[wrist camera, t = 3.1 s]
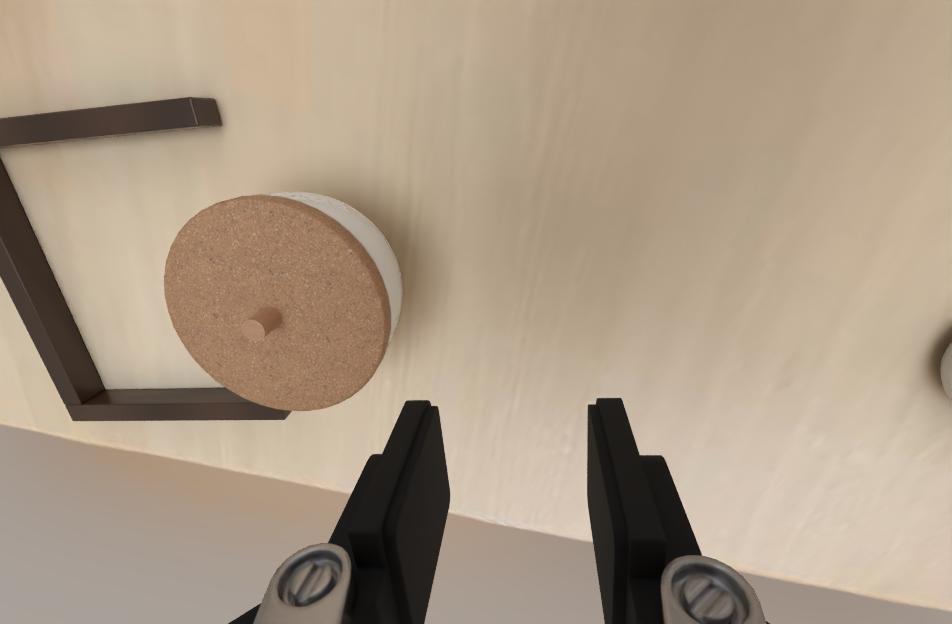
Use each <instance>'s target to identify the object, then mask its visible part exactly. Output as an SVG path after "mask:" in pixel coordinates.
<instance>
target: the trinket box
mask: <svg viewBox="0 0 952 624" xmlns="http://www.w3.org/2000/svg"><path fill="white" fill-rule="evenodd" d="M164 288H165V299H166V303H167V307H168V312H169V315H170V317H171V320H172V323H173V326H174V328H175V330H176V332H177V334H178V336H179V338H180V339H181V341H182V343H183V344H184V346H185V347H186V349H187V350H188V352H189V353H190V355H191V356H192V357H193V358H194V360H195V361H196V362H197V363H198V364H199V365H200V366H201V367H202V368H203V369H204V370H205V371H206V372H207V373H208V374H209V375H210V376H211V377H212V378H213V379H215V380H216V381H217V382H218V383H220V384H221V385H223V386H224V387H226V388H227V389H229V390H230V391H232V392H234V393H236V394H237V395H239V396H241V397H243V398H245V399H247V400H250V401H252V402H255V403H257V404H260V405H263V406H267V407H271V408H274V409H281V410H289V411H310V410H316V409H323V408H326V407H329V406H333V405H336V404H338V403H340V402H342V401H344V400H346V399H348V398H350V397H351V396H353V395H354V394H355V393H357V392H358V391H359V390H360V389H362V388H363V387H364V385H365V384H366V383H367V382H368V381H369V380H370V379H371V378H372V376H373V374H374V373H375V371H376V369H377V368H378V366H379V364H380V363H381V361H382V359H383V357H384V354H385V352H386V349H387V347H388V345H389V343H390V341H391V339H392V337H393V334H394V332H395V329H396V326H397V323H398V320H399V317H400V311H401V306H402V279H401V273H400V269H399V266H398V262H397V259H396V257H395V255H394V253H393V251H392V249H391V247H390V245H389V243H388V241H387V240H386V238H385V237H384V236H383V234H382V233H381V232H380V230H379V229H378V228H377V227H376V226H375V225H374V224H373V223H372V222H371V221H370V220H369V219H368V218H366V217H365V216H364V215H363V214H362V213H360V212H359V211H357V210H356V209H354V208H352V207H351V206H349V205H348V204H346V203H343V202H341V201H339V200H336V199H334V198H331V197H327V196H324V195H320V194H315V193H309V192H298V191H284V192H271V193H265V194H260V195H253V196H242V197H238V198H234V199H230V200H226V201H222V202H219V203H216V204H214V205H212V206H210V207H208V208H206V209H204V210H202V211H201V212H199V213H198V214H197V215H195V216H194V217H193V218H191V219H190V220H189V221H188V222H187V223H186V224H185V226H184V227H183V228H182V229H181V230H180V231H179V233H178V235H177V236H176V238H175V240H174V242H173V244H172V245H171V248H170V251H169V254H168V258H167V261H166V267H165V276H164Z"/></svg>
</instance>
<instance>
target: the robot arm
mask: <svg viewBox="0 0 952 624" xmlns="http://www.w3.org/2000/svg"><path fill="white" fill-rule="evenodd" d="M587 497H588V509H589V516H590V523H591V530H592V537H593V544H594V551H595V557H596V564H597V571H598V578H599V585H600V592H601V599H602V606H603V613H604V620H605V624H769V623H768V622H766V621H765V618H764V615H763V611H762V608H761V604H760V602H759V599H758V597H757V595H756V593H755V591H754V589H753V588H752V587H751V586H750V584H749V583H748V582H747V581H746V579H745V578H744V577H743V576H742V575H740V574H739V573H738V572H737V571H735V570H734V569H733V568H731V567H730V566H728V565H726V564H724V563H722V562H720V561H718V560H716V559H713V558H709V557H705V556H702V554H701V551H700V549H699V546H698V544H697V541H696V538H695V536H694V533H693V531H692V528H691V526H690V523H689V520H688V518H687V515H686V513H685V510H684V507H683V505H682V502H681V500H680V497H679V495H678V492H677V489H676V487H675V484H674V482H673V479H672V476H671V474H670V471H669V469H668V466H667V464H666V461H665V459H664V457H662V456H661V455H639V452H638V449H637V445H636V442H635V439H634V436H633V433H632V430H631V427H630V423H629V420H628V417H627V414H626V411H625V408H624V404H623V401H622V399H621V398H597V401H596V405H588V460H587ZM449 504H450V487H449V480H448V473H447V466H446V459H445V452H444V444H443V437H442V430H441V423H440V416H439V410H438V407H437V406H431V403H430V401H429V400H413V401H406V402H405V404H404V406H403V409H402V411H401V413H400V415H399V418H398V420H397V422H396V424H395V426H394V429H393V431H392V433H391V435H390V438H389V440H388V442H387V444H386V447H385V449H384V451H383V453H382V454H373V455H371V456H370V458H369V459H368V461H367V463H366V465H365V467H364V469H363V471H362V473H361V475H360V477H359V479H358V482H357V484H356V486H355V488H354V490H353V492H352V494H351V496H350V498H349V500H348V502H347V504H346V507H345V509H344V511H343V513H342V515H341V517H340V519H339V521H338V523H337V525H336V527H335V529H334V532H333V534H332V536H331V538H330V540H329V542H328V543H320V544H315V545H311V546H308V547H306V548H303V549H302V550H299V551H297V552H296V553H294V554H293V555H292V556H290V557H289V558H287V559H286V560H285V561H284V562H283V563H282V564H281V566H280V567H279V568H278V569H277V570H276V572H275V574H274V575H273V577H272V579H271V581H270V584H269V586H268V588H267V591H266V593H265V595H264V598H263V600H262V603H261V604H259V605H257V606H256V607H254V608H253V609H251V610H249V611H248V612H246V613H245V614H243V615H241V616H240V617H238V618H237V619H235V620H233V621H232V622H230V623H229V624H424V622H425V617H426V612H427V608H428V603H429V598H430V594H431V589H432V584H433V580H434V575H435V570H436V566H437V561H438V556H439V551H440V547H441V542H442V538H443V533H444V528H445V523H446V519H447V514H448V510H449Z"/></svg>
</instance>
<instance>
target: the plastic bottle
mask: <svg viewBox="0 0 952 624" xmlns="http://www.w3.org/2000/svg"><path fill="white" fill-rule="evenodd" d="M940 373H941V380H942V384H943V388H944V391H945V392H946V394H947V396H948V397H949V398H950V399H951V400H952V342H951V343H950V345H949V346H948V347H947V349H946V351H945V353H944V355H943V357H942V361H941V365H940Z"/></svg>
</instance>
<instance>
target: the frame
mask: <svg viewBox="0 0 952 624" xmlns="http://www.w3.org/2000/svg"><path fill="white" fill-rule="evenodd" d="M214 126H221V121H220V117H219V113H218V110H217V106H216V102H215V100H214V99H213V98H197V97H187V98H178V99H169V100H160V101H151V102H142V103H133V104H124V105H115V106H106V107H97V108H88V109H79V110H70V111H61V112H52V113H43V114H34V115H26V116H17V117H8V118H0V148H7V147H17V146H26V145H36V144H46V143H56V142H66V141H76V140H86V139H96V138H105V137H115V136H125V135H135V134H145V133H155V132H165V131H174V130H184V129H194V128H204V127H214ZM0 277H1V279H2V281H3V283H4V285H5V287H6V289H7V291H8V293H9V295H10V297H11V299H12V301H13V303H14V305H15V307H16V309H17V311H18V313H19V315H20V317H21V319H22V321H23V323H24V325H25V327H26V329H27V331H28V333H29V335H30V337H31V339H32V340H33V342H34V344H35V346H36V348H37V350H38V352H39V354H40V356H41V358H42V360H43V362H44V364H45V366H46V368H47V370H48V372H49V374H50V376H51V378H52V380H53V382H54V384H55V386H56V388H57V390H58V392H59V394H60V396H61V398H62V400H63V402H64V404H65V406H66V408H67V410H68V412H69V414H70V416H71V418H72V420H73V421H163V420H285V419H286V418H287V416H288V415H289V414H290V413H291V411H289V410H281V409H274V408H271V407H267V406H263V405H260V404H257V403H255V402H252V401H250V400H247V399H245V398H243V397H241V396H239V395H237V394H236V393H234V392H232V391H230V390H229V389H227V388H203V389H142V390H105V389H104V387H103V384H102V382H101V380H100V378H99V376H98V373H97V371H96V369H95V367H94V365H93V362H92V360H91V358H90V356H89V354H88V351H87V349H86V347H85V345H84V343H83V340H82V338H81V336H80V334H79V332H78V329H77V327H76V325H75V323H74V321H73V318H72V316H71V314H70V312H69V310H68V307H67V305H66V303H65V301H64V299H63V296H62V294H61V292H60V290H59V288H58V285H57V283H56V281H55V279H54V277H53V274H52V272H51V270H50V268H49V266H48V263H47V261H46V259H45V257H44V255H43V252H42V250H41V248H40V246H39V244H38V241H37V239H36V237H35V235H34V233H33V230H32V228H31V226H30V224H29V222H28V219H27V217H26V215H25V213H24V211H23V208H22V206H21V204H20V202H19V200H18V198H17V195H16V193H15V191H14V189H13V187H12V184H11V182H10V180H9V178H8V176H7V173H6V171H5V169H4V167H3V165H2V162H1V160H0Z"/></svg>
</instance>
